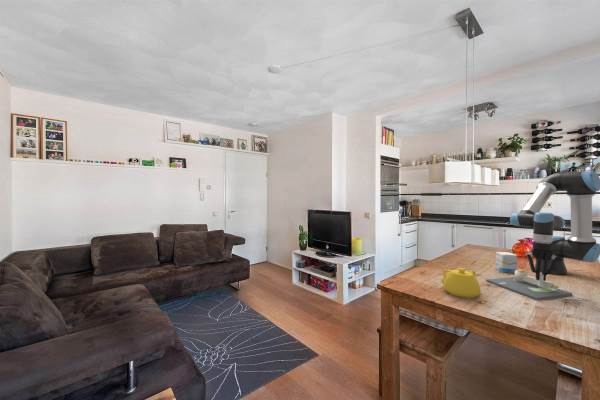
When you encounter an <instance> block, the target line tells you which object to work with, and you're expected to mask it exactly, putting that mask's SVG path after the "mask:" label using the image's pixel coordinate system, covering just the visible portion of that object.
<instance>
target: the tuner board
mask: <svg viewBox="0 0 600 400" xmlns="http://www.w3.org/2000/svg"><path fill="white" fill-rule="evenodd" d="M485 281H486V283H489V284H492V285H495V286H497V287H500V288H502V289H505V290H508V291H511V292H513V293H516V294H519V295H522V296H524V297H526V296H527V297H526V298H528V299H529V298H530V299H531V300H535V301H540V300H541V301H542V300H547V299H548V300H549V299H555V298H556V299H557V298H564V297H571V296H573V292H570V291H567V290H563V289H561V288H555V287H554V288H552V289H549V288H546V287H539V286H538V285H536V284H532V283H529V282H520V281H516V280H515V276H508V277H507V276H506V277H496V278H489V279H486V280H485Z"/></svg>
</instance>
